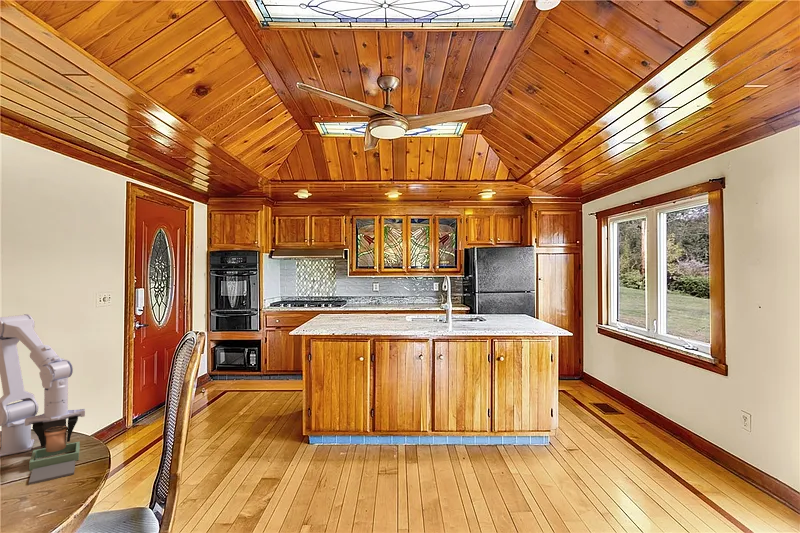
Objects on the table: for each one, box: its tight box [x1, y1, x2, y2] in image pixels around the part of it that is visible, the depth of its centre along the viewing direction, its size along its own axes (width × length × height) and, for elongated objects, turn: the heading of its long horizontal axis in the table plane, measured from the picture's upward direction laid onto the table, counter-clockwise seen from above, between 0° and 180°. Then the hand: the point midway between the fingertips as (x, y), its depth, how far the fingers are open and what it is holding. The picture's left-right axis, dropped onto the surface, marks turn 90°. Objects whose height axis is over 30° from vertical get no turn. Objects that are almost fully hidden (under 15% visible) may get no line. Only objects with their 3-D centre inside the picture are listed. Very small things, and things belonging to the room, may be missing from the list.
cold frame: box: [28, 441, 81, 472], centre depth 131 cm, size 10×12×2 cm
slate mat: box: [28, 460, 76, 485], centre depth 123 cm, size 9×10×1 cm
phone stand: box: [42, 419, 67, 449], centre depth 139 cm, size 9×6×12 cm, turn 40°
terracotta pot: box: [44, 425, 68, 452], centre depth 131 cm, size 6×6×6 cm
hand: (55, 443), depth 131 cm, fingers closed on terracotta pot, 6 cm apart
